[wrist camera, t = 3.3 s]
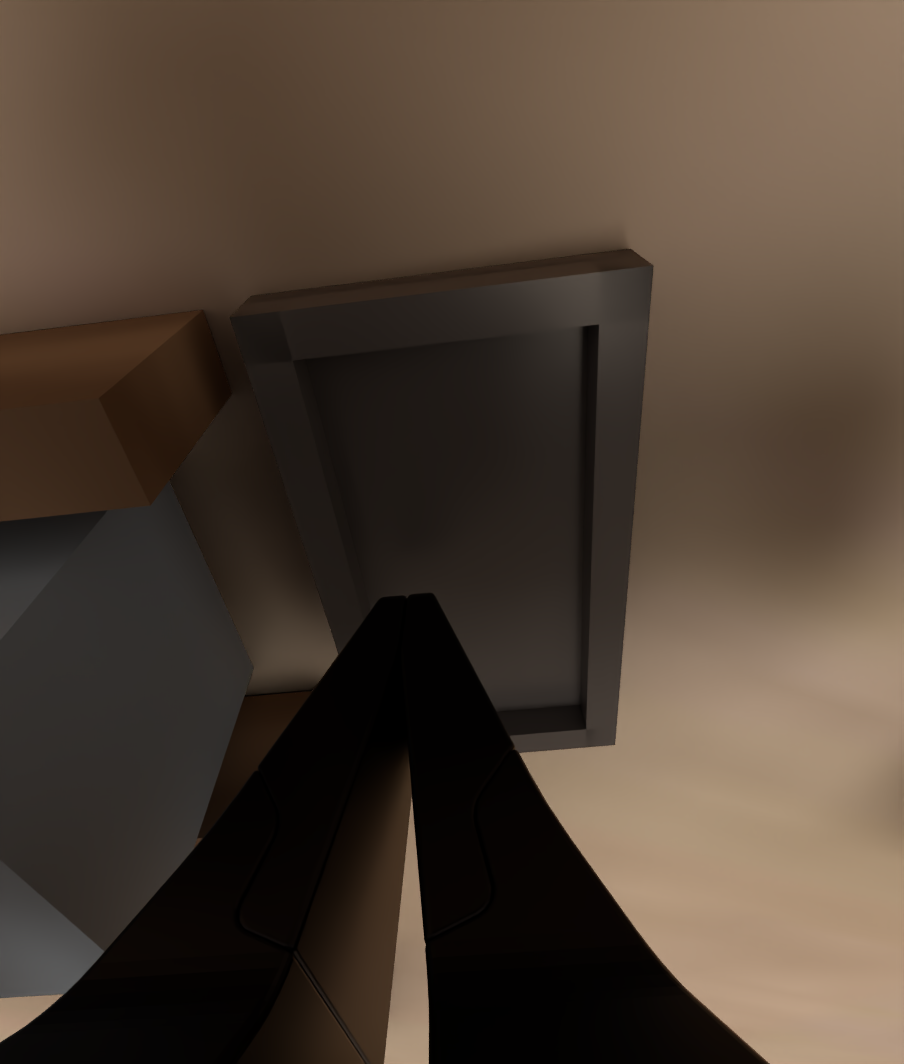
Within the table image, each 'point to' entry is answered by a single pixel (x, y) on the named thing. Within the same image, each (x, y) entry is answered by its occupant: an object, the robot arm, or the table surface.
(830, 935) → the table surface
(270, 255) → the table surface
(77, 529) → the block
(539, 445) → the tray
